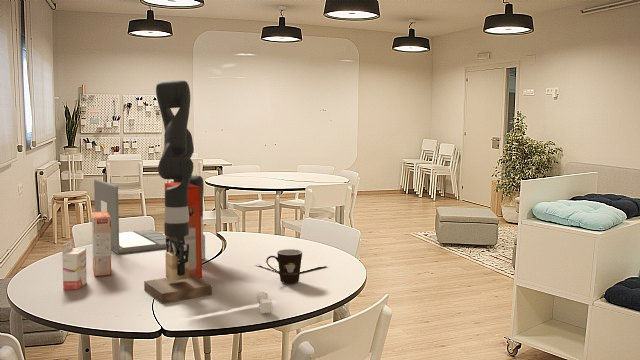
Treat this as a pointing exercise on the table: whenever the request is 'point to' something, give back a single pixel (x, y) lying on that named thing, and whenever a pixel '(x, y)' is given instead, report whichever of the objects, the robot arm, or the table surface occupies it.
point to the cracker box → (101, 243)
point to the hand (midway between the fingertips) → (177, 272)
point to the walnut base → (177, 289)
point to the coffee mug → (288, 265)
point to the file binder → (193, 229)
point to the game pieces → (264, 302)
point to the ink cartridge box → (73, 267)
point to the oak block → (175, 267)
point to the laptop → (119, 241)
